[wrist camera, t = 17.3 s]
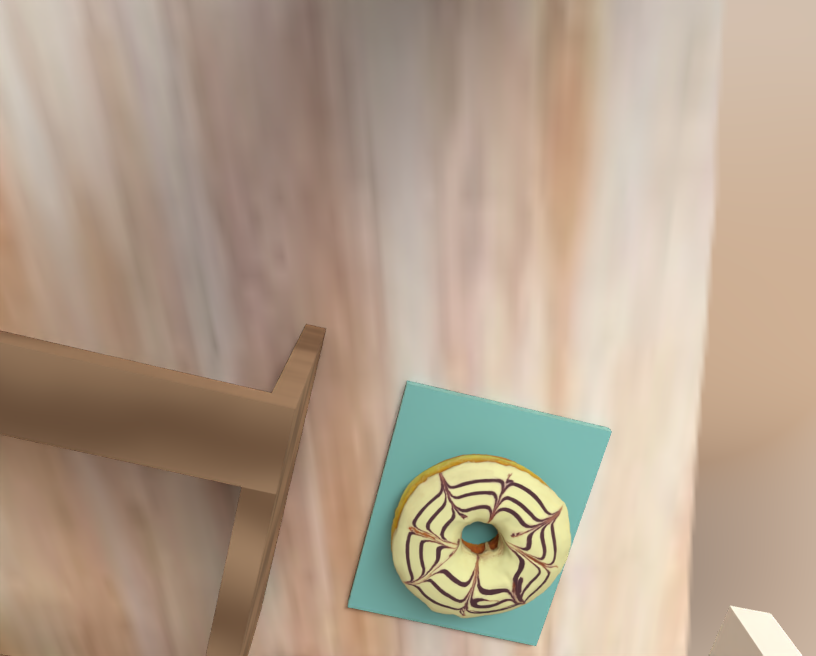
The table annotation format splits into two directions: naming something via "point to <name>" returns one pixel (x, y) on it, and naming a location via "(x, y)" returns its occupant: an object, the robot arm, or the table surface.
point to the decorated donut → (481, 563)
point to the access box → (175, 441)
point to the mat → (476, 434)
